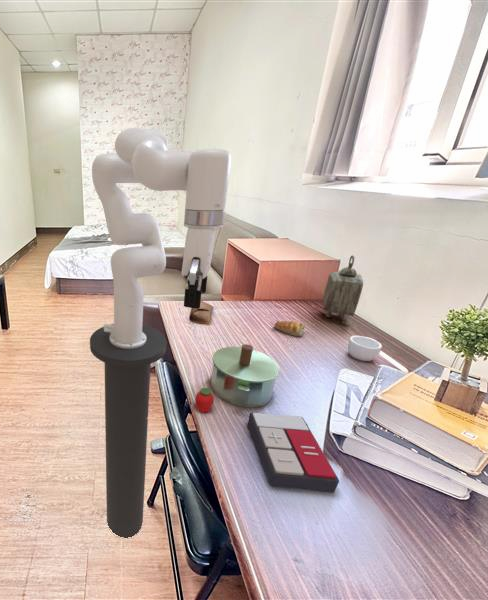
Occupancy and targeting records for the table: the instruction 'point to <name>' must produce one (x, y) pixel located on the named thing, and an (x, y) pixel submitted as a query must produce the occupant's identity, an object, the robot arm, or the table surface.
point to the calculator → (291, 453)
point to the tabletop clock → (343, 292)
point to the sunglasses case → (201, 314)
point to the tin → (241, 390)
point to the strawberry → (204, 400)
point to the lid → (245, 364)
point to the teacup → (363, 348)
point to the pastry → (290, 327)
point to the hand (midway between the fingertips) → (195, 299)
